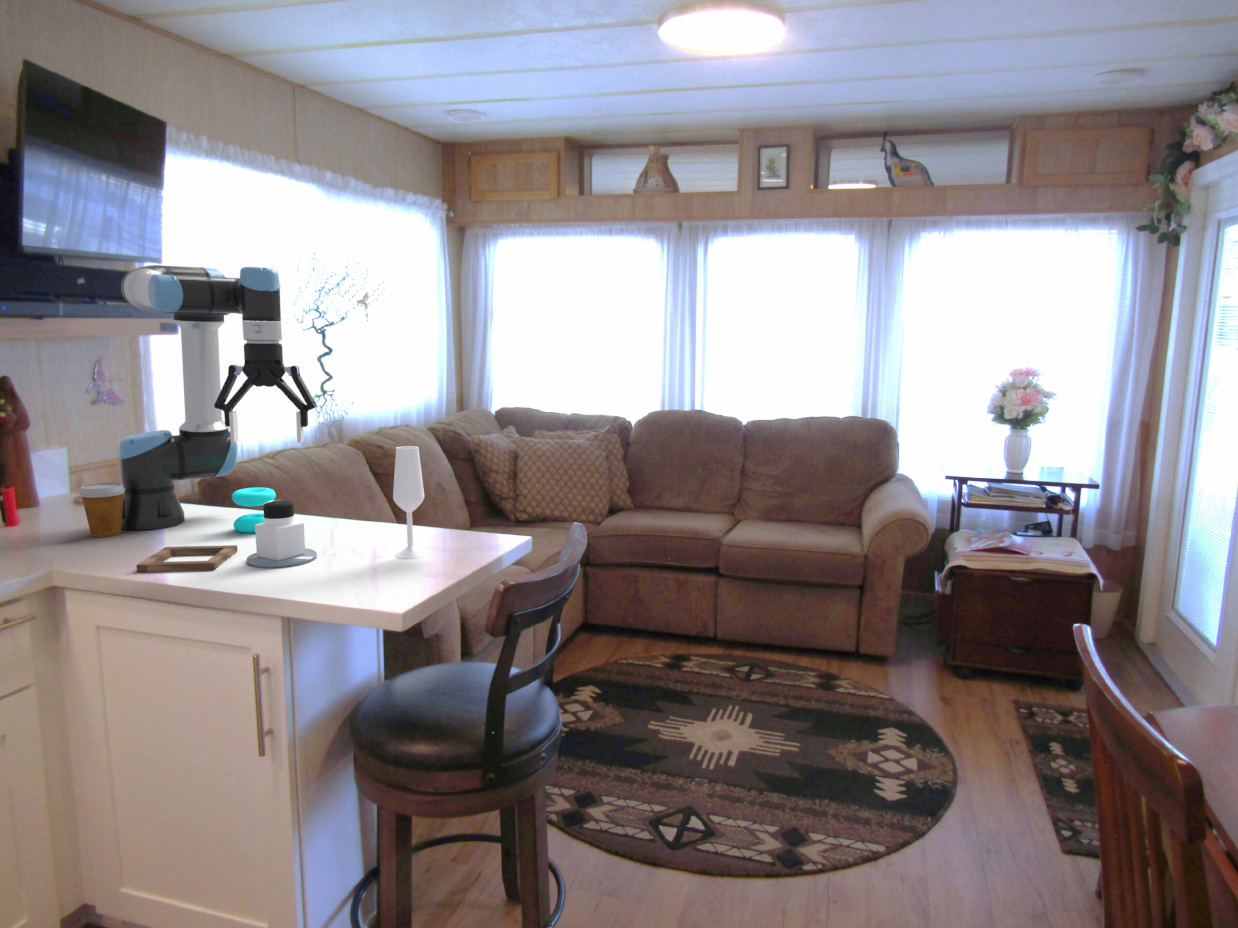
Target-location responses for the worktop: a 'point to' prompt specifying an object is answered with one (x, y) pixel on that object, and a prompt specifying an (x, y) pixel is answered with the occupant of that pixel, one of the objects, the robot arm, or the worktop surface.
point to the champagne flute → (408, 492)
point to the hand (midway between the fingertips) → (267, 442)
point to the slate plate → (297, 560)
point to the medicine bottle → (279, 532)
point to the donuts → (251, 499)
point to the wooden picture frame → (158, 565)
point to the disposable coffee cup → (103, 508)
